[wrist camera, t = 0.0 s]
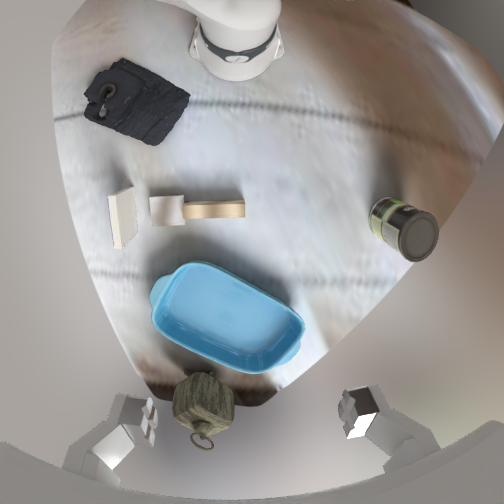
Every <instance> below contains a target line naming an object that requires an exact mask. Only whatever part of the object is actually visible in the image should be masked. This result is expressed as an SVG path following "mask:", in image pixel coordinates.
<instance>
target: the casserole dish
mask: <svg viewBox="0 0 504 504" xmlns="http://www.w3.org/2000/svg"><path fill="white" fill-rule="evenodd" d="M149 301H150V304H151V307H152V314H151V319H152V323H153V325H154V327H155V328H156V329H157V330H158V331H159V332H160V333H161V334H162V335H163V336H165V337H166V338H168V339H169V340H171V341H173V342H175V343H176V344H178V345H180V346H182V347H184V348H186V349H188V350H190V351H193V352H195V353H197V354H199V355H201V356H204V357H206V358H208V359H210V360H213V361H215V362H217V363H220V364H222V365H224V366H227V367H229V368H232V369H235V370H238V371H241V372H245V373H250V374H259V373H263V372H266V371H268V370H270V369H272V368H273V367H276V366H279V365H282V364H284V363H286V362H288V361H289V360H291V359H292V358H293V357H294V356H295V355H296V353H297V352H298V351H299V349H300V339H301V338H302V336H303V334H304V331H305V324H304V322H303V320H302V318H301V317H300V316H299V315H298V314H297V313H296V312H295V311H294V310H293V309H291V308H290V307H289V306H288V305H286V304H285V303H284V302H282V301H281V300H279V299H277V298H276V297H274V296H272V295H270V294H269V293H267V292H265V291H263V290H261V289H260V288H258V287H256V286H254V285H253V284H251V283H249V282H247V281H245V280H244V279H242V278H240V277H238V276H237V275H235V274H233V273H231V272H229V271H228V270H226V269H224V268H222V267H220V266H217V265H215V264H212V263H210V262H206V261H201V260H194V261H189V262H187V263H185V264H183V265H181V266H180V267H179V268H177V269H176V270H175V271H174V272H173V273H172V274H169V275H165V276H162V277H160V278H159V279H158V280H157V281H156V282H155V284H154V286H153V288H152V290H151V292H150V295H149Z"/></svg>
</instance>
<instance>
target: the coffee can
mask: <svg viewBox="0 0 504 504" xmlns="http://www.w3.org/2000/svg"><path fill="white" fill-rule="evenodd" d="M369 226H370V229H371V231H372V232H373V234H374V235H375V236H377V237H378V238H380V239H381V240H383V241H384V242H385V243H387V244H388V245H389V246H391V247H392V248H393V249H395V250H396V251H397V252H399V253H400V254H401V255H403V257H404V258H405V259H407V260H408V261H410V262H419V261H422V260H424V259H425V258H427V257H428V256H429V255H430V254H431V253H432V251H433V250H434V248H435V246H436V243H437V240H438V235H439V228H438V223H437V221H436V219H435V217H434V216H433V215H431V214H430V213H428V212H424V211H422V210H420V209H417V208H415V207H413V206H411V205H408V204H406V203H403V202H401V201H399V200H397V199H395V198H392V197H385V198H382V199H380V200H379V201H377V202H376V203H375V205H374V206H373V207H372V209H371V212H370V215H369Z"/></svg>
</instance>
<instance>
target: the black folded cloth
mask: <svg viewBox="0 0 504 504" xmlns="http://www.w3.org/2000/svg"><path fill="white" fill-rule="evenodd" d="M84 95H85V96H86V97H87V98H88V101H89V104H88V105H87V108H86V110H85V112H84V115H85V117H86V118H88V119H89V120H90V121H93V122H96V123H98V124H100V125H103V126H106V127H108V128H112V129H114V130H115V131H116V132H120V133H121V134H123V135H127V136H128V135H129V136H130V137H133V138H135V139H138V140H141V141H143V142H144V143H146V144H148V145H152V146H156V145H158V144H160V143H161V142H162V141H163V140H164V138H165V137H166V136H167V134H168V133H169V132H170V131H171V130H172V128H173V127H174V125H175V123H176V122H177V121H178V119H179V118H180V117H181V115H182V113H183V111H184V109H185V108H186V107H187V105H188V103H189V97H190V96H191V95H190V94H189V93H187V92H185V91H184V90H183V89H181V88H179V87H176V86H175V85H174V84H172V83H171V82H169V81H167V80H165V79H164V78H162V77H161V76H159V75H157V74H155V73H153V72H151V71H149V70H147V69H145V68H143V67H141V66H139V65H136V64H134V63H132V62H131V61H129V60H126V59H124V58H122V59H120V60H119V61H118V62H114V63H113V65H112V66H111V68H110V69H109V70H105V71H103V72H99V73H98V74H97V75H96V77H95V78H94V80H93V82H92V84H91V86H90V87H89V88H88V89H87V90H86V92H85V93H84ZM105 99H106V102H105ZM104 103H105V105H104V108H106V109H108V111H107V114H106V116H105V117H103V118H101V117H100V115H99V111H100V109H101V107H102V105H103V104H104Z"/></svg>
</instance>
